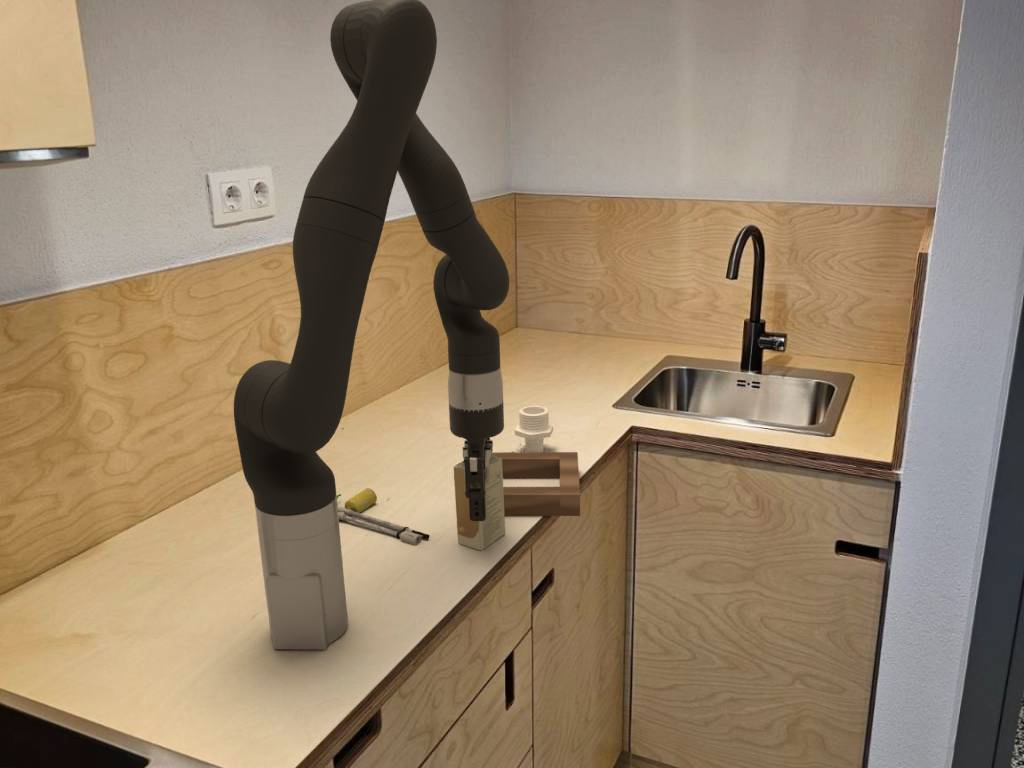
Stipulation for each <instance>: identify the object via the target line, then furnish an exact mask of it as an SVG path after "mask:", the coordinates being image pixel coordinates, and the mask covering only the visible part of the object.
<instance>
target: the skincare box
mask: <svg viewBox="0 0 1024 768" xmlns="http://www.w3.org/2000/svg"><path fill="white" fill-rule="evenodd" d="M484 472H485V468H484ZM453 478H454V494H455V495H454V496H455V497H454V498H455V499H454V500H455V514H456V515H455V516H456V529H457V530H456V531H457V533H456V534H457V543H458V544H460V545H463V546H465V547H468V548H471V549H475V550H478V551H483V550H484V549H486V548H487V547H488V546H490V545H491V544H493V543H494V542H495V541H497V540H498V539H499V538H501V537H503V536H504V535H505V534H506V522H505V517H506V516H504V494H503V487H504V479H503V471H502V458H500V457H496V456H491V460H490V472H489V479H488V480H487V481H486V491H487V493H486V496H485V504H486V519H485V520H484V521H471V520H470V513H469V498H466V496H465V492H466V486H465V477H464V460H463V461H461V462H459V463H456V464H455V465H454V466H453ZM472 488H480V483H472Z"/></svg>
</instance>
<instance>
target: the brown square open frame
mask: <svg viewBox="0 0 1024 768" xmlns="http://www.w3.org/2000/svg"><path fill="white" fill-rule="evenodd" d="M578 455H579V453H578V452H577V451H561V452H560V451H555V452H554V451H550V452H549V451H546V452H545V451H543V452H526V451H524V452H523V451H522V452H520V451H519V452H516V451H515V452H514V451H513V452H512V451H511V452H506V451H505V452H504V451H503V452H496V451H495V452H494V451H492V456H496V457H500V458H502V471H503V480H504V479H505V480H507V479H510V480H511V479H516V480H517V479H521V480H522V479H527V480H528V479H529V480H530V479H531V480H534V479H543V480H544V479H547V480H549V479H559V486H503V494H504V516H505V517H580V516H581V488H580V487H581V486H580V472H579V471H580V469H579V456H578Z"/></svg>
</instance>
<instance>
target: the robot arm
mask: <svg viewBox="0 0 1024 768" xmlns="http://www.w3.org/2000/svg"><path fill="white" fill-rule="evenodd" d="M436 29H437V27H436V24H435V21H434V17H433V15H432V13H431V11H430V10H429V9H428V7H427V6H426V5H425V4H424V3H423V2H422V1H421V0H366V1H360V2H356V3H352V4H350V5H347V6H345V7H343V8H342V9H341V10H340V11H339V12H338V14H336V16H335V17H334V19H333V22H332V24H331V28H330V35H329V37H330V38H329V39H330V40H329V41H330V48H331V51H332V52H331V53H332V56H333V59H334V61H335V64H336V66H337V69H338V70H339V72H340V75H342V77H343V79H344V81H345V82H346V85H347V86H348V88H349V90H350V91H351V93H352V95H353V96H354V98H355V99H356V104H355V107H354V109H353V112H352V113H351V116H350V118H348V121H347V123H346V125H345V126H344V128H343V129H342V131H341V132H340V134H339V136H338V137H337V138H336V139H335V140H334V142H333V143H332V145H331V146H330V147H329V148H328V150H327V152H326V153H325V154H324V156H323V157H322V158H321V160H320V162H319V163H318V165H317V166H316V168H315V170H314V172H313V173H312V174H311V176H310V179H309V180H308V183H307V185H306V186H305V187H306V188H305V191H304V194H303V197H302V201H301V205H300V207H299V208H300V209H299V213H298V216H297V220H296V224H295V229H294V233H293V239H292V258H293V259H292V260H293V265H294V266H293V267H294V272H295V278H296V284H297V289H298V290H297V291H298V295H299V303H300V322H299V329H298V334H297V339H296V342H295V346H294V351H293V355H292V358H291V360H290V363H289V362H286V361H282V360H276V359H275V360H274V359H271V360H270V359H269V360H263V361H260V362H257V363H255V364H253V365H252V366H250V367H249V368H248V369H247V370H246V371H245V372H244V373H243V375H242V376H241V377H240V379H239V381H238V383H237V385H236V389H235V393H234V398H233V420H234V421H233V422H234V428H235V434H236V439H237V444H238V445H237V446H238V451H239V455H240V462H241V467H242V472H243V475H244V478H245V481H246V484H247V485H248V486H249V489H250V490H251V492H252V495H253V499H254V500H253V501H254V507H255V518H256V525H257V526H256V527H257V533H258V542H259V549H260V550H259V551H260V557H261V558H260V559H261V567H262V576H263V582H264V591H265V592H264V593H265V598H266V607H267V615H268V623H269V624H268V625H269V631H270V633H269V634H270V637H271V639H272V645H273V649H274V650H326V649H327V648H328V646H329V644H331V643H332V642H333V641H335V640H337V639H338V638H340V637H341V636H342V635H343V634H344V633H345V632H346V630H347V628H348V626H349V617H348V608H347V606H348V605H347V596H346V595H347V594H346V585H345V576H344V574H345V573H344V565H343V564H344V563H343V554H342V553H343V551H342V544H341V543H342V542H341V530H340V521H339V519H338V518H339V517H338V508H339V507H338V506H339V505H338V499H337V495H338V494H337V487H336V479H335V478H336V477H335V474H334V471H333V470H332V469H331V468H330V466H329V465H328V464H327V463H326V462H325V461H324V460H323V459H322V458H321V457H320V455H318V453H317V452H319V450H321V449H323V448H324V447H325V446H326V445H327V444H328V443H329V442H330V441H331V440H332V438H333V437H334V435H335V433H336V431H337V429H338V427H339V425H340V422H341V419H342V416H343V413H344V408H345V403H346V399H347V391H348V386H349V379H350V374H351V366H352V360H353V354H354V347H355V341H356V336H357V330H358V326H359V322H360V316H361V313H362V309H363V305H364V300H365V298H366V296H365V295H366V291H367V287H368V283H369V280H370V279H369V278H370V275H371V271H372V268H373V264H374V261H375V258H376V255H377V252H378V248H379V245H380V241H381V236H382V232H383V229H384V225H385V221H386V218H387V217H386V216H387V213H388V207H389V204H390V198H391V196H392V191H393V187H394V185H395V181H396V178H397V174H398V176H399V177H400V180H401V181H402V183H403V185H404V188H405V190H406V193H407V195H408V197H409V200H410V203H411V205H412V208H413V210H414V213H415V215H416V218H417V220H418V222H419V225H420V228H421V230H422V232H423V235H424V237H425V238H426V241H427V242H428V244H429V245H430V246H431V247H433V248H434V249H436V250H438V251H440V252H442V253H444V254H445V255H444V256H443V257H441V259H440V260H439V261H438V263H437V265H436V267H435V270H434V275H433V280H432V281H433V283H432V284H433V293H434V298H435V303H436V306H437V310H438V313H439V316H440V320H441V323H442V327H443V330H444V332H445V334H446V338H447V357H448V378H447V379H448V380H447V390H448V391H447V393H448V394H447V395H448V397H447V398H448V413H449V415H448V416H449V418H448V419H449V430H450V432H451V433H452V435H454V436H455V437H457V438H461V439H463V440H464V443H463V445H464V446H462V458H463V461H464V477H465V486H466V492H465V496H466V498H469V513H470V520H471V521H484V520H485V519H486V504H485V496H486V493H487V491H486V481H487V480H488V479H489V472H490V460H491V456H492V452H494V450H493V447H494V442H493V439H491V438H494V437H497V436H498V435H500V434H501V433H502V432H503V431H504V428H505V414H504V413H505V412H504V385H503V376H502V371H501V368H502V367H501V345H500V334H499V331H498V329H497V327H495V326H494V325H493V324H491V323H490V322H488V321H487V320H486V319H485V318H484V317H483V315H482V313H481V311H491V310H494V309H497V308H499V307H500V306H501V305H502V304H503V303H504V302H505V301H506V298H507V297H508V295H509V290H510V276H509V275H510V274H509V270H508V267H507V264H506V262H505V260H504V258H503V256H502V254H501V253H500V251H499V250H498V248H497V246H496V244H495V243H494V241H493V240H492V239H491V236H489V234H488V232H487V231H486V230H485V228H484V227H483V226H482V224H481V223H480V221H479V220H478V218H477V215H476V210H475V209H474V206H473V204H472V201H471V197H470V194H469V192H468V189H467V187H466V183H465V182H464V179H463V177H462V175H461V173H460V171H459V169H458V167H457V166H456V164H455V162H454V160H453V159H452V158H451V156H450V155H449V153H447V151H446V150H445V149H444V147H442V146H441V145H440V142H438V140H437V139H436V138H435V137H434V136H433V134H432V133H431V132H430V130H429V129H428V128H427V127H426V125H425V124H424V123H423V122H422V120H421V118H420V116H419V114H417V112H418V109H419V106H420V103H421V101H422V98H423V95H424V93H425V90H426V88H427V84H428V82H429V80H430V77H431V74H432V71H433V67H434V64H435V60H436V55H437V45H438V38H437V37H438V36H437V30H436ZM484 468H485V472H484ZM472 483H480V488H472Z"/></svg>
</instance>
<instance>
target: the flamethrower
mask: <svg viewBox="0 0 1024 768" xmlns="http://www.w3.org/2000/svg"><path fill="white" fill-rule="evenodd" d="M336 495H337V500H338V498H339V497H341V496H342V494H341V493H339V494H336ZM377 501H378V497H377V494H376V492H375V491H374V490H373V489H372V488H364V490H362V491H360V492H359V493H356V495H353V496H352V497H351V498H349V499H348V500H346V501H345V502H344V507H342V506H339V507H338V517H339V518H338V519H339V522H340V521H347V522H351V523H354V524H356V525H360V526H362V527H367V528H369V529H372V530H375V531H379V532H381V533H385V534H387V535H391V536H393V537H395V538H396V539H400V540H401V541H402V542H403V543H405V544H409V545H412V546H417V545H418V543H421V542H422V541H423V540H422V539H425V540H429V539H430V534H428V533H423V532H421V531H417V530H414V529H412V528H410V527H408V526H403V525H400V524H396V523H393V522H390V521H387V520H384V519H381V518H376V517H373V516H370V515H367V514H363V513H361V512H363V511H365V510H366V509H369V507H371V506H373V505H375V504H376V502H377Z"/></svg>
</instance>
